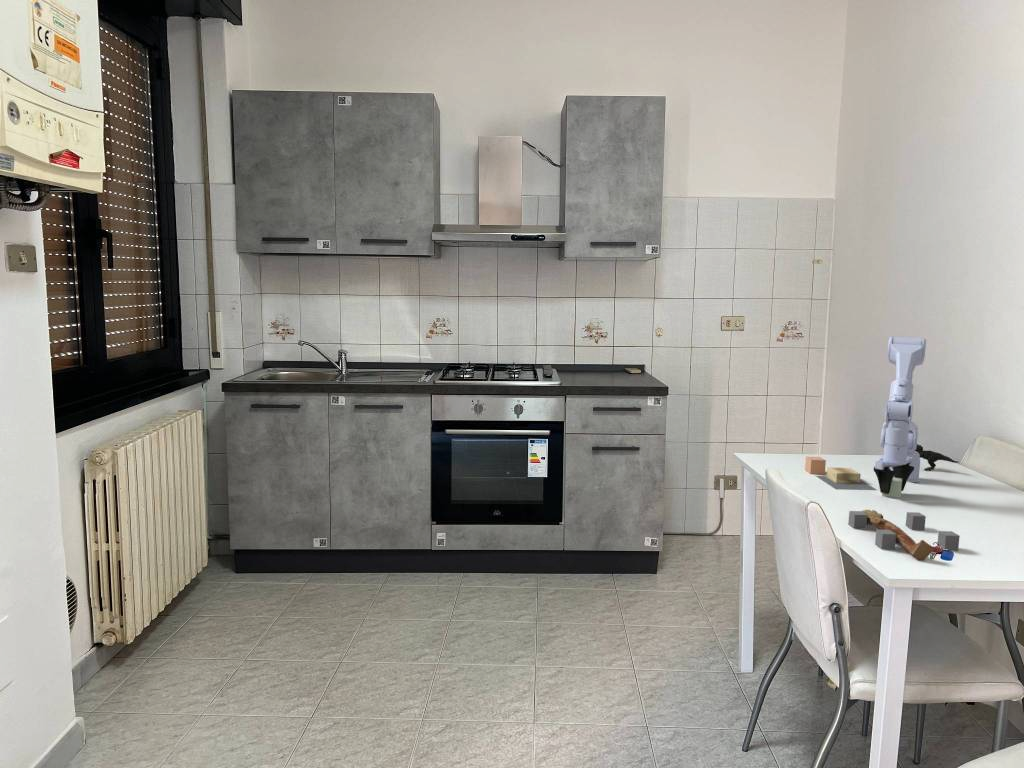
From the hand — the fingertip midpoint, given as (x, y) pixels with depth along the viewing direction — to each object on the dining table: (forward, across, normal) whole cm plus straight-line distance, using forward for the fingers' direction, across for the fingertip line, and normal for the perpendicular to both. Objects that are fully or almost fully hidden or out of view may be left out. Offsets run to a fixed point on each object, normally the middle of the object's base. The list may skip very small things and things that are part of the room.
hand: (891, 491), depth 207 cm
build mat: (+1, 0, -15) cm, 15 cm away
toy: (+2, -41, -12) cm, 43 cm away
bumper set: (+1, +31, +22) cm, 38 cm away
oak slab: (+1, -2, -17) cm, 17 cm away
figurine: (+2, +34, +21) cm, 40 cm away
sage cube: (+1, 0, 0) cm, 1 cm away
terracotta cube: (+2, -2, -27) cm, 27 cm away
